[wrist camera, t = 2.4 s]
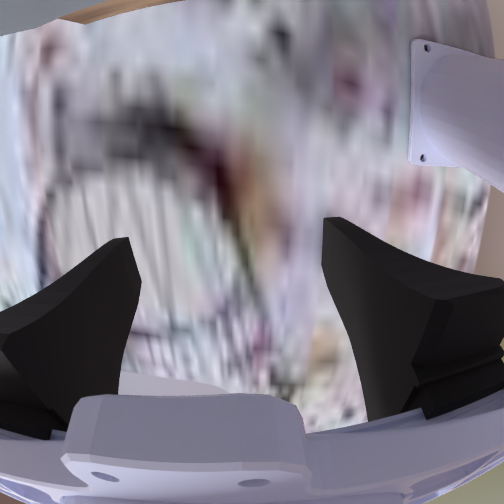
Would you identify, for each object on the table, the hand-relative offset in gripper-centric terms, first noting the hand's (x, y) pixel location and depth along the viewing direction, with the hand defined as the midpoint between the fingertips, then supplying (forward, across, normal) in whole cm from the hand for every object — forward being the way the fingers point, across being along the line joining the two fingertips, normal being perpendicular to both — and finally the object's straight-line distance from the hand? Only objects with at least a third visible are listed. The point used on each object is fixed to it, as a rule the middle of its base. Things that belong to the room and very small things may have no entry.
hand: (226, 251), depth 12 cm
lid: (+2, 0, -11) cm, 11 cm away
